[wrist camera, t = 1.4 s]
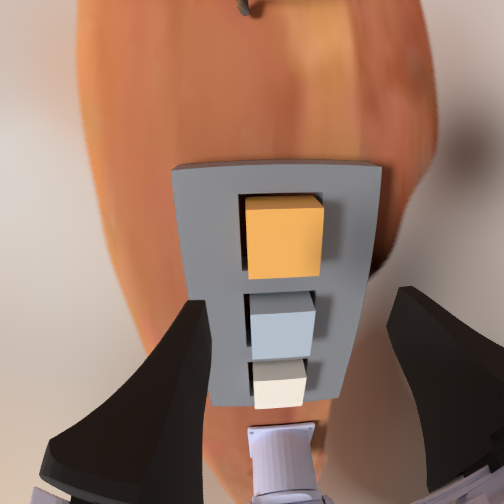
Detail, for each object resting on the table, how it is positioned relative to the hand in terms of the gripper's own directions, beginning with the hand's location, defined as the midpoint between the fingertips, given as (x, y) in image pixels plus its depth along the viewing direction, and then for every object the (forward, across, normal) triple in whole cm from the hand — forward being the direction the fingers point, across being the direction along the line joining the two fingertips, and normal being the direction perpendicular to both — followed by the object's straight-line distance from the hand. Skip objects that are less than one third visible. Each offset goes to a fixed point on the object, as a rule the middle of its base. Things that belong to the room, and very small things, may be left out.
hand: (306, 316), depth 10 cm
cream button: (+7, 0, +13) cm, 15 cm away
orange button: (+8, 0, 0) cm, 8 cm away
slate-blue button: (+8, 0, +7) cm, 10 cm away
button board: (+9, 0, +7) cm, 11 cm away
